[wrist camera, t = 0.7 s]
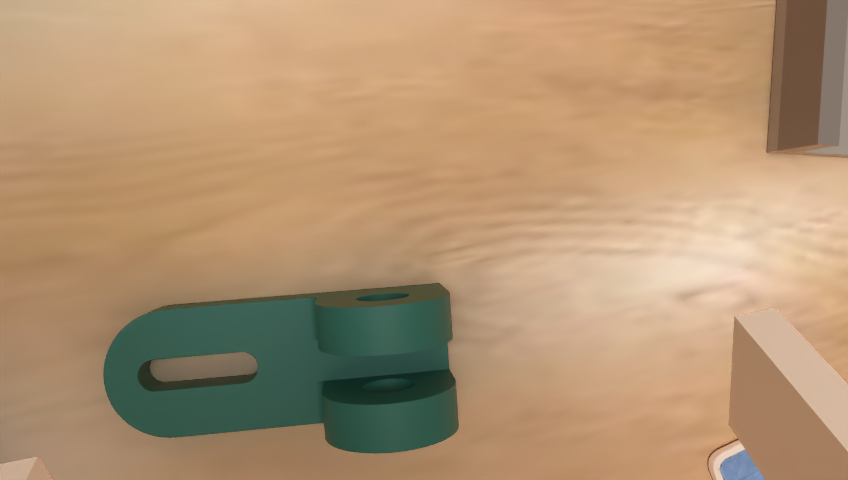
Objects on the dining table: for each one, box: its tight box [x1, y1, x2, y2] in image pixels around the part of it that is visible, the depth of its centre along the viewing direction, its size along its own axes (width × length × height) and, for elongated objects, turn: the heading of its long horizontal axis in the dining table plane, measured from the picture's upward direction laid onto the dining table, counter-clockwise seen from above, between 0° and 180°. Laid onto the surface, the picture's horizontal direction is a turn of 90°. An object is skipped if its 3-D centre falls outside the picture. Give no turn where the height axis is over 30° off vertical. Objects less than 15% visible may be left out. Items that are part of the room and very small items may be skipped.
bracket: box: [104, 283, 459, 453], centre depth 35 cm, size 18×7×8 cm, turn 94°
